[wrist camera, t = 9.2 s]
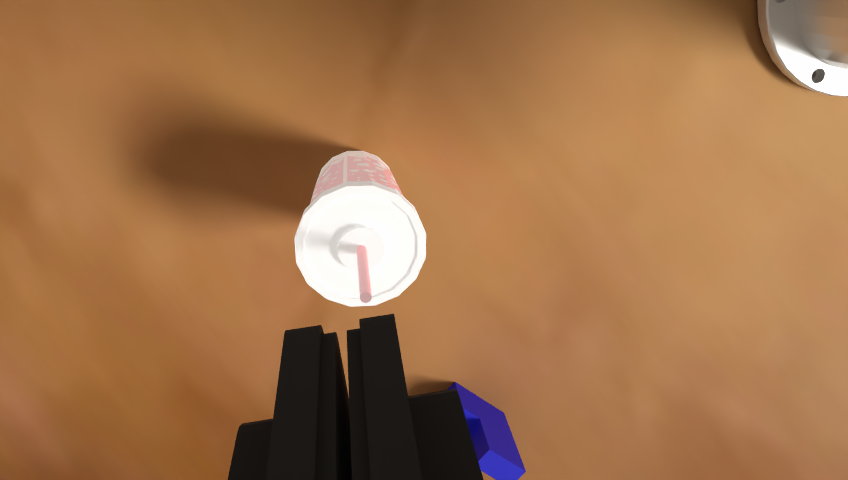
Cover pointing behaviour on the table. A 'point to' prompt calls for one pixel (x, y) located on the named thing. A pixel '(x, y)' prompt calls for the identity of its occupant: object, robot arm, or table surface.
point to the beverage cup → (359, 233)
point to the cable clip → (490, 437)
